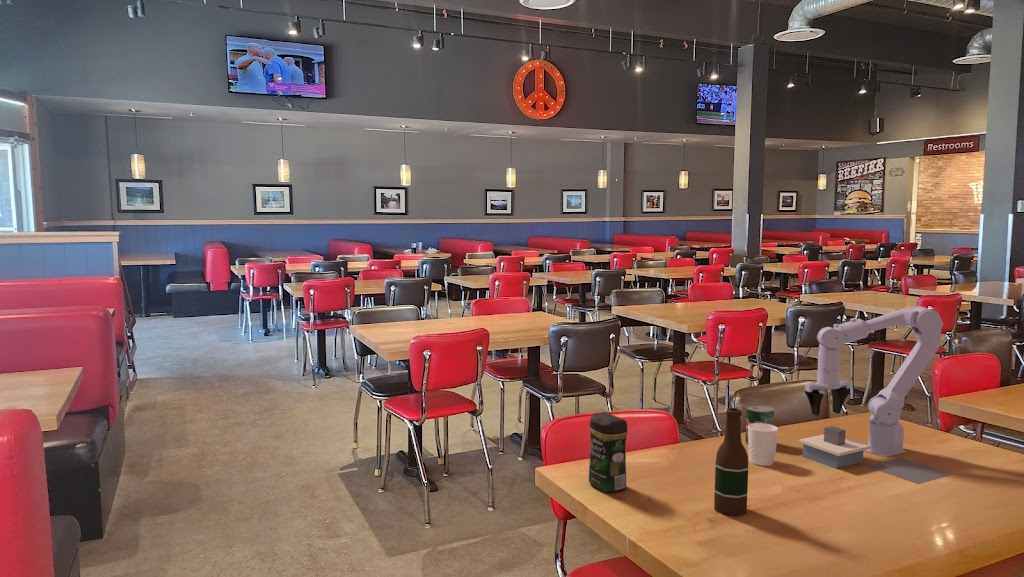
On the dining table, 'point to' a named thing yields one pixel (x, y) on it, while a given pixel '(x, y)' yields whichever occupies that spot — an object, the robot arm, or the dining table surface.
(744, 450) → the beer bottle
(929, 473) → the mat
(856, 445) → the lid
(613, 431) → the coffee jar
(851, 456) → the open box
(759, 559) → the dining table surface
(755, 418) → the canned tomato
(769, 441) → the white cup
